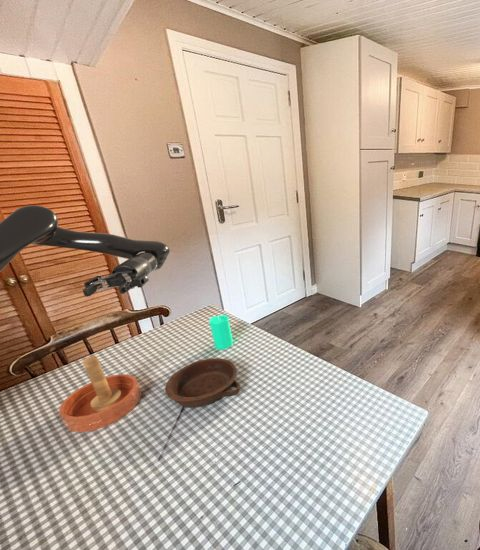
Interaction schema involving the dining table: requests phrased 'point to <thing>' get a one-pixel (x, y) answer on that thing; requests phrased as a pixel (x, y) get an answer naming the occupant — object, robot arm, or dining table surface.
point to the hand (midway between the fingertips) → (103, 292)
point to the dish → (203, 382)
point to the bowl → (84, 419)
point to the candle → (221, 331)
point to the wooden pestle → (100, 386)
